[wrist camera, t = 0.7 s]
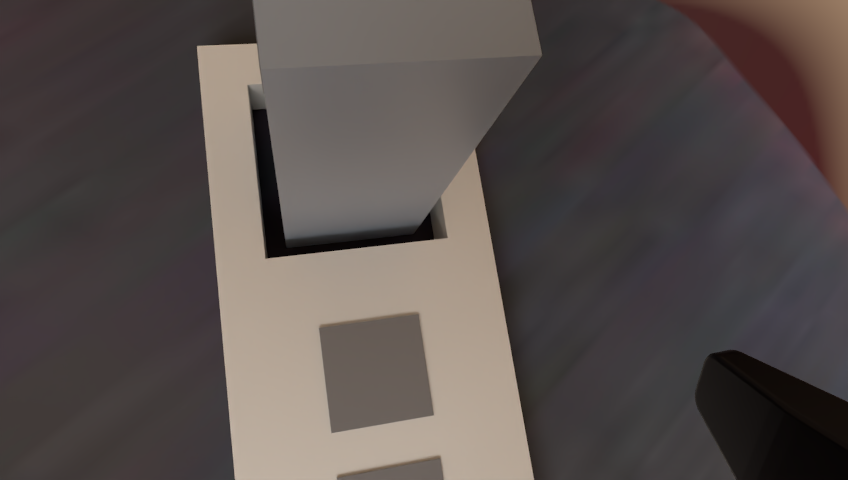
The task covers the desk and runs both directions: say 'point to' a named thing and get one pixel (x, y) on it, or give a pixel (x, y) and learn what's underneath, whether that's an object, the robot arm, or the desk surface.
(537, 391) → the desk surface
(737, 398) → the robot arm
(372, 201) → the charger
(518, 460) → the power strip
